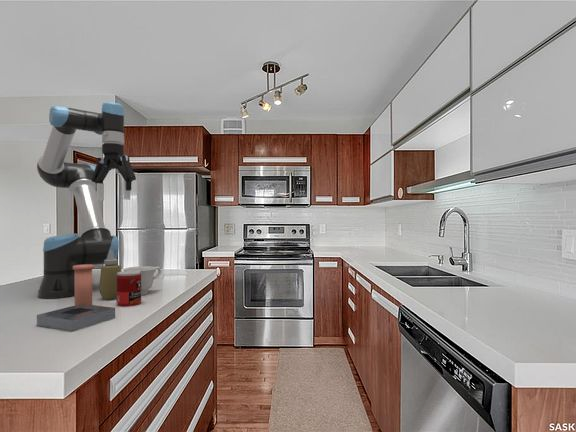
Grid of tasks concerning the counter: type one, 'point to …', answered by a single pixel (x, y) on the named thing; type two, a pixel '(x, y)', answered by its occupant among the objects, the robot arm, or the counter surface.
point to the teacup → (145, 276)
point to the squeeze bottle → (109, 277)
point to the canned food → (128, 288)
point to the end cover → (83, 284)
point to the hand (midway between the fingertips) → (113, 200)
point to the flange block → (75, 317)
